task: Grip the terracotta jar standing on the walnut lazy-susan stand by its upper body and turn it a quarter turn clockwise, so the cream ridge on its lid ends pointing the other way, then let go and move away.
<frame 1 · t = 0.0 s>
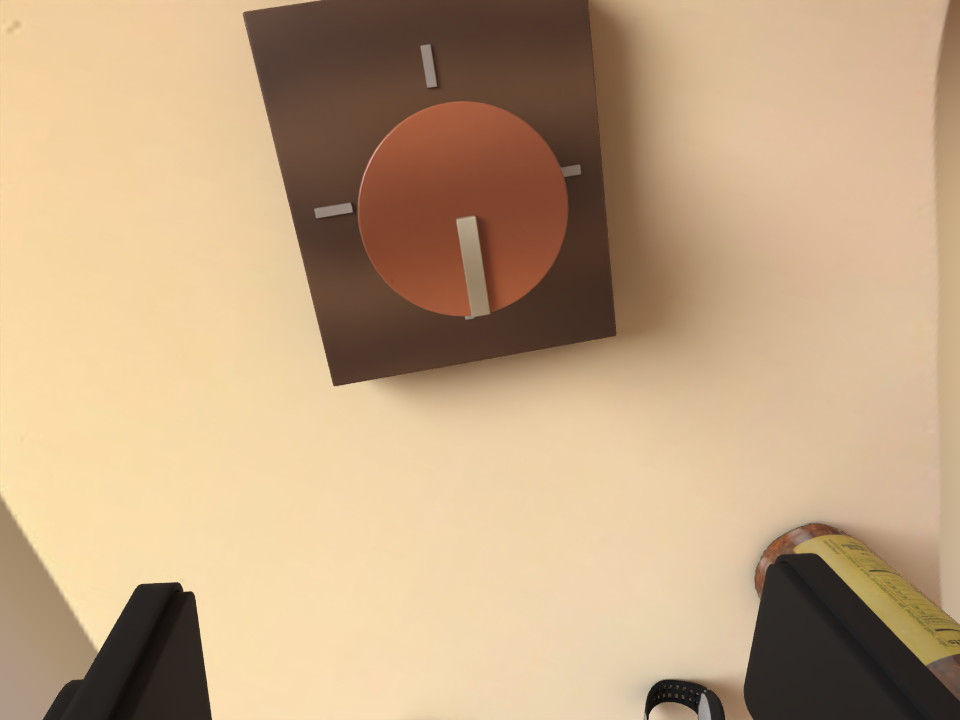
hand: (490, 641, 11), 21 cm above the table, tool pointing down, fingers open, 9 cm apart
jar: (456, 201, 22), point 7 cm above the table, hinge at 0.0°
sauce bottle: (802, 561, 38), on the table
smartwatch: (664, 683, 39), on the table
turntable: (444, 184, 29), on the table
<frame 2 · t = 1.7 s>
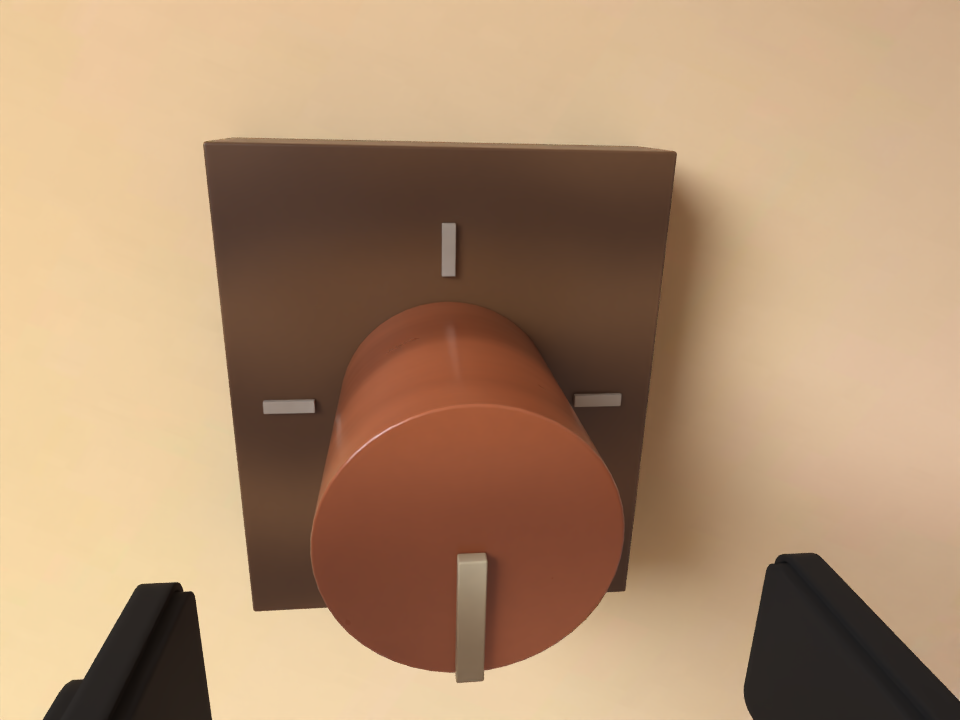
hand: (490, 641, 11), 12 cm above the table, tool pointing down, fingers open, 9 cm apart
jar: (457, 464, 16), point 7 cm above the table, hinge at 0.0°
turntable: (441, 365, 22), on the table
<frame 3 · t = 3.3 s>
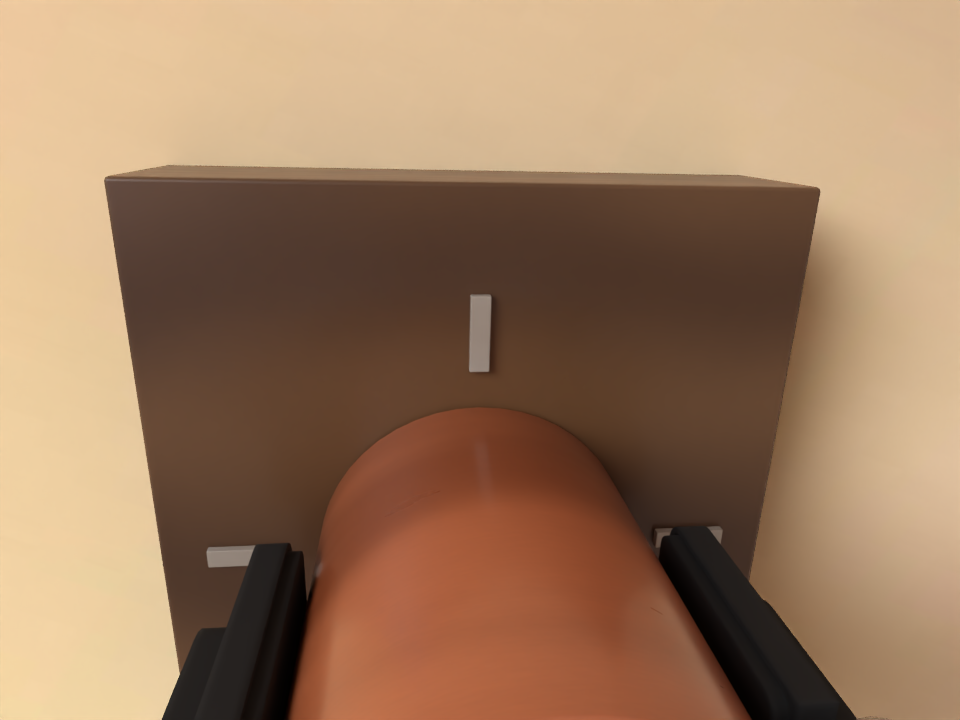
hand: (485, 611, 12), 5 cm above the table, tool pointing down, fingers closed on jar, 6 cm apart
jar: (499, 688, 10), point 7 cm above the table, hinge at 0.0°, touching gripper
turntable: (462, 471, 16), on the table
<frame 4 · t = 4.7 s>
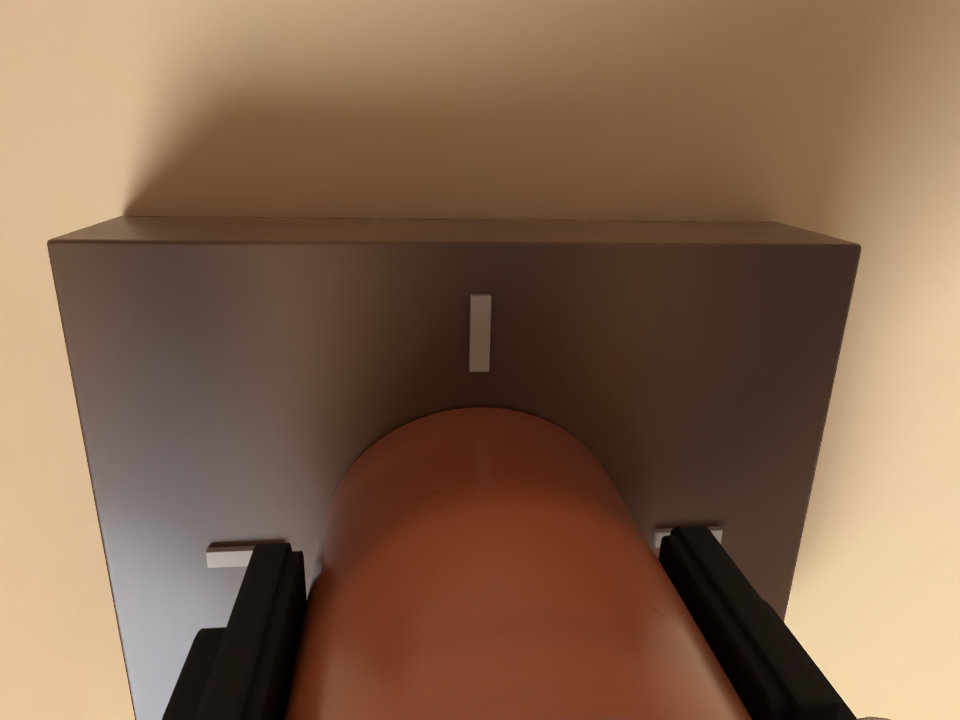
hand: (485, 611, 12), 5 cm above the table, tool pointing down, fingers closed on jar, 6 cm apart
jar: (499, 689, 10), point 7 cm above the table, hinge at -90.5°, touching gripper
turntable: (461, 471, 16), on the table
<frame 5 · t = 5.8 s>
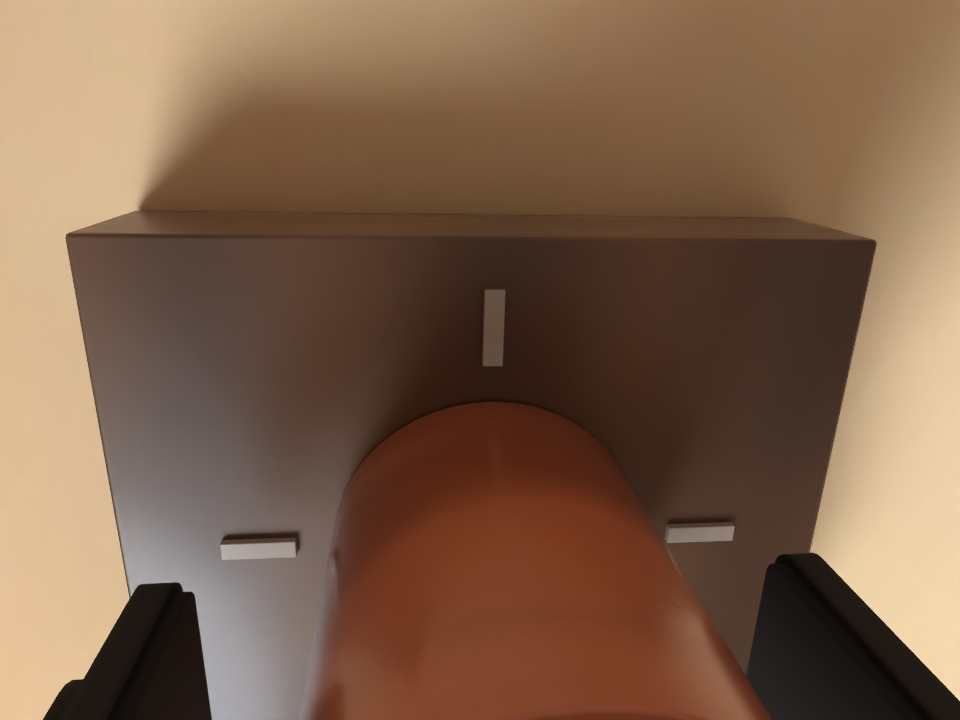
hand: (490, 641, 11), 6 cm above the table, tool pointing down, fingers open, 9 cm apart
jar: (512, 681, 10), point 7 cm above the table, hinge at -91.0°
turntable: (473, 466, 16), on the table
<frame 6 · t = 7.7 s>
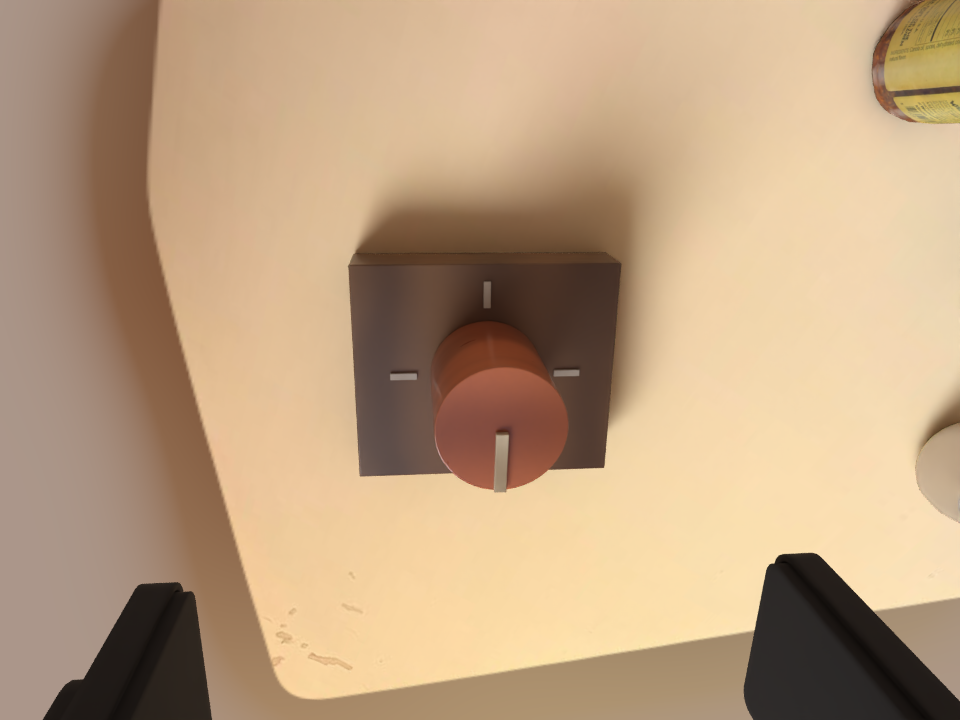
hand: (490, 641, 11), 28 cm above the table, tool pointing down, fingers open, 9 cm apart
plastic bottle: (946, 452, 45), on the table
jar: (493, 400, 33), point 7 cm above the table, hinge at -91.0°
sauce bottle: (915, 59, 36), on the table
turntable: (480, 355, 39), on the table
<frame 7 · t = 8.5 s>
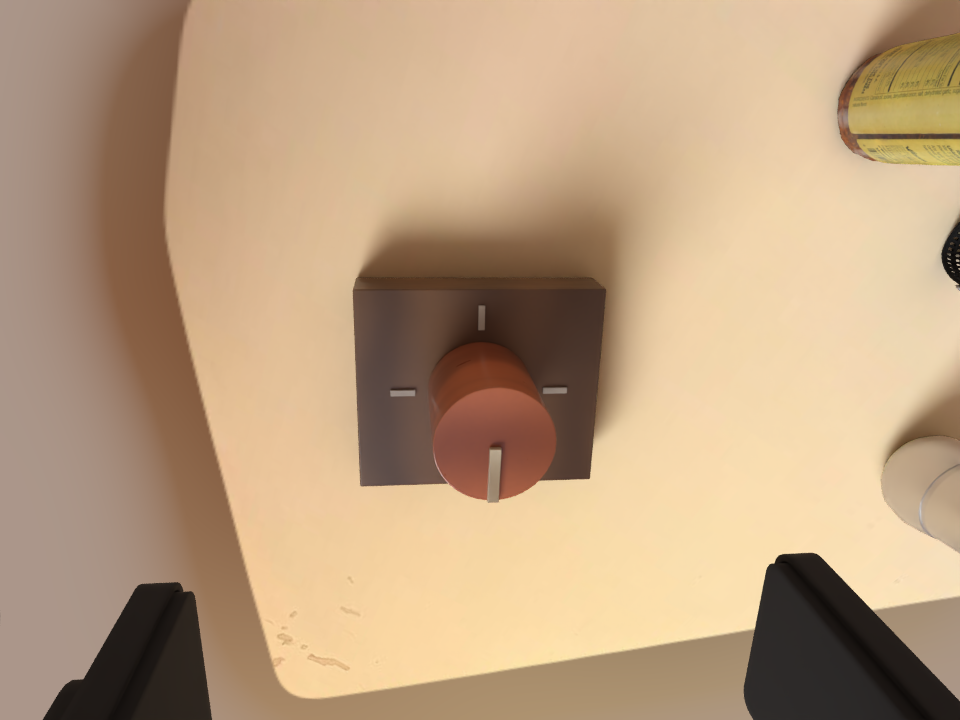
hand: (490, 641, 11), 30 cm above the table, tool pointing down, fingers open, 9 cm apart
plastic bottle: (910, 465, 48), on the table
jar: (487, 417, 36), point 7 cm above the table, hinge at -91.0°
sauce bottle: (877, 103, 39), on the table
smartwatch: (947, 246, 43), on the table
turntable: (474, 373, 42), on the table
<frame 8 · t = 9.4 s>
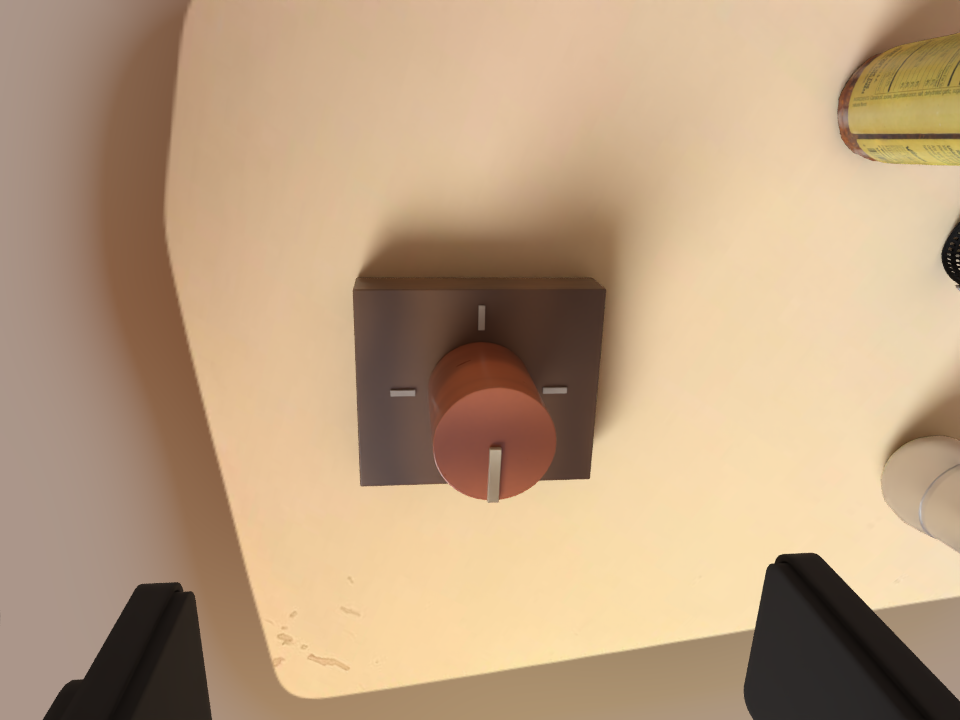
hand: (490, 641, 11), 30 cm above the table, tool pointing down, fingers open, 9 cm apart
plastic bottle: (910, 465, 48), on the table
jar: (487, 417, 36), point 7 cm above the table, hinge at -91.0°
sauce bottle: (877, 103, 39), on the table
smartwatch: (947, 246, 43), on the table
turntable: (474, 373, 42), on the table
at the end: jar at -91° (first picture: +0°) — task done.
